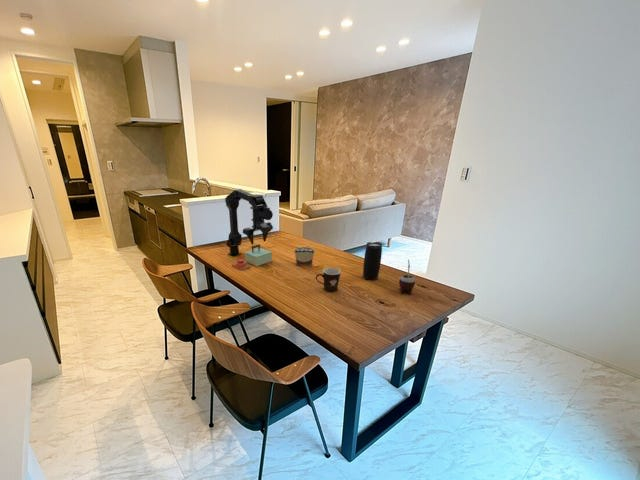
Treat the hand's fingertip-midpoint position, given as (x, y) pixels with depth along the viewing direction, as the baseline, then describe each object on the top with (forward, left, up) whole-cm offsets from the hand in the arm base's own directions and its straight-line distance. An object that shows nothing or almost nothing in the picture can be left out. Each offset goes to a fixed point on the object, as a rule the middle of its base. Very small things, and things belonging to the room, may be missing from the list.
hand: (258, 242), depth 179 cm
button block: (-5, -10, -14) cm, 18 cm away
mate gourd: (+79, +31, -14) cm, 86 cm away
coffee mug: (+51, +5, -14) cm, 53 cm away
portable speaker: (+58, +33, -14) cm, 68 cm away
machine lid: (-6, +4, -9) cm, 11 cm away
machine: (-5, +4, -14) cm, 16 cm away
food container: (+18, +22, -14) cm, 31 cm away
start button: (-5, -10, -12) cm, 16 cm away
